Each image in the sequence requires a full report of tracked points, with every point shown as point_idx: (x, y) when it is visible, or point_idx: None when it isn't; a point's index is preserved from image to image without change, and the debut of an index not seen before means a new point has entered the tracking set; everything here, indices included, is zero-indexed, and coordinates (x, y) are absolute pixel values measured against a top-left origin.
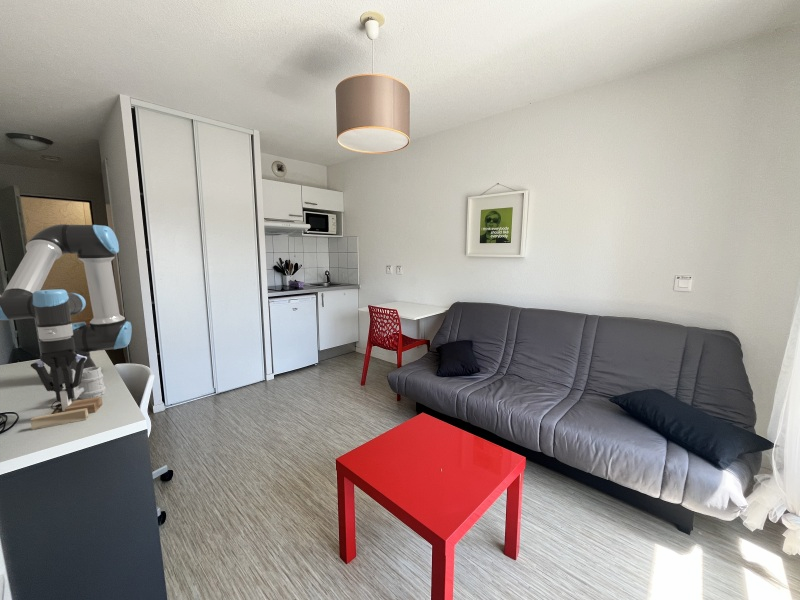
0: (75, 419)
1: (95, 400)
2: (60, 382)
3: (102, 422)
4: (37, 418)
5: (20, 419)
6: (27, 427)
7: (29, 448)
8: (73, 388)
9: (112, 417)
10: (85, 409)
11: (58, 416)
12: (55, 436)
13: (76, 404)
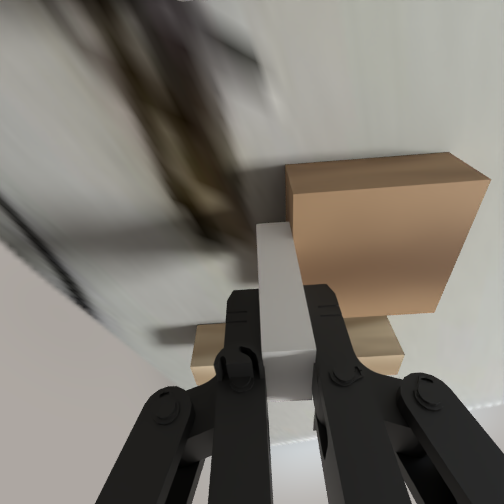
0: None
1: (443, 253)
2: (271, 491)
3: (436, 369)
4: None
5: (19, 205)
6: (164, 318)
7: (275, 427)
8: (357, 359)
9: (472, 347)
10: (399, 366)
11: None
12: (313, 400)
13: (334, 276)
